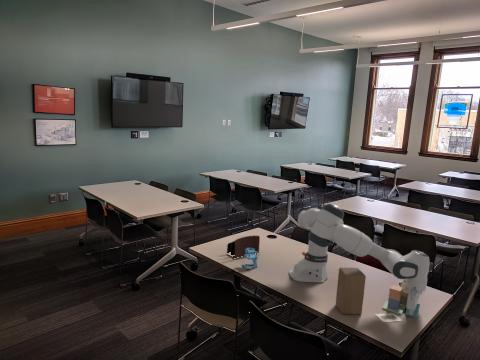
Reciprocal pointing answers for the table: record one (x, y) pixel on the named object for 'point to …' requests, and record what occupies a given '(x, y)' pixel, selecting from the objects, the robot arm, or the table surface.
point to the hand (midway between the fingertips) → (412, 310)
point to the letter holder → (243, 245)
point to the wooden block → (350, 290)
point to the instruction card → (388, 317)
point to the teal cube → (414, 311)
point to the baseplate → (394, 306)
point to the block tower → (404, 293)
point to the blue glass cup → (251, 257)
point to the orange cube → (395, 292)
